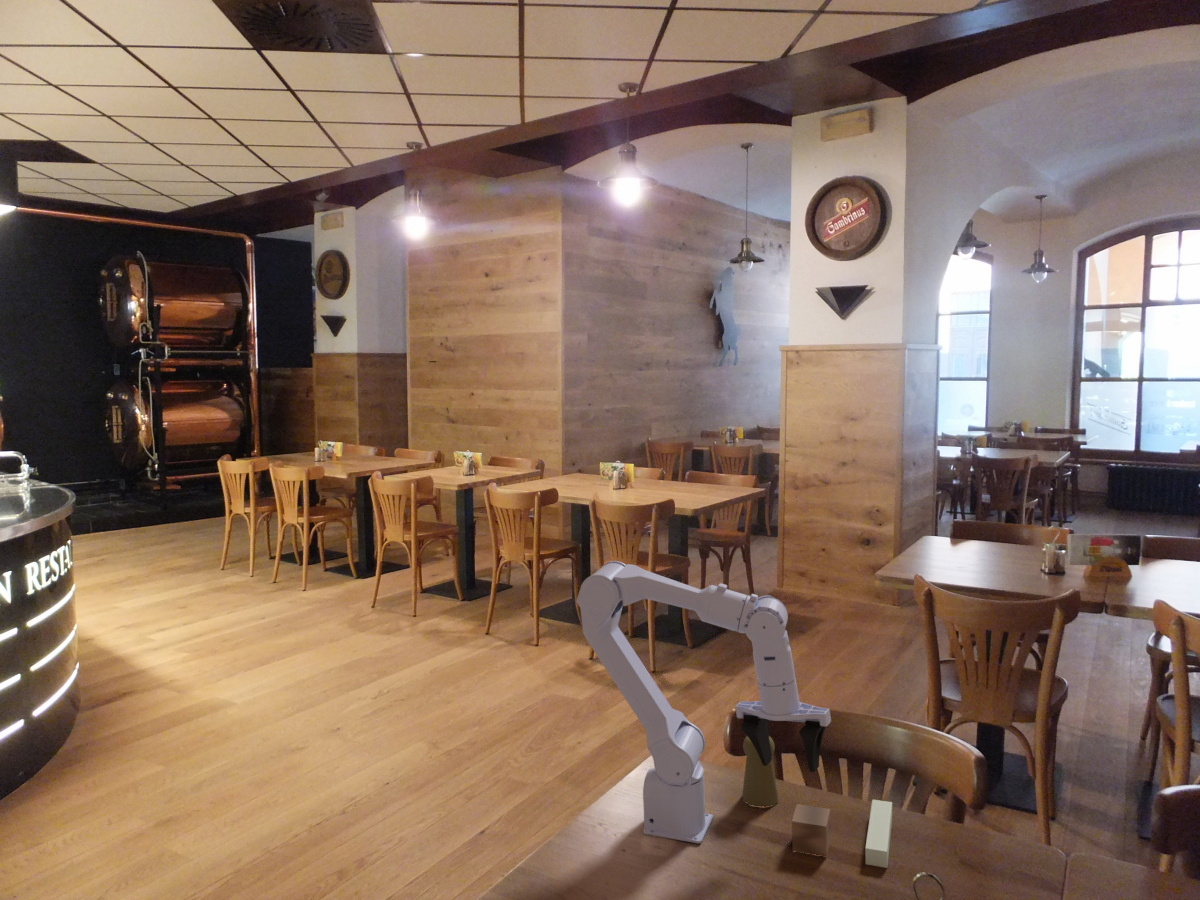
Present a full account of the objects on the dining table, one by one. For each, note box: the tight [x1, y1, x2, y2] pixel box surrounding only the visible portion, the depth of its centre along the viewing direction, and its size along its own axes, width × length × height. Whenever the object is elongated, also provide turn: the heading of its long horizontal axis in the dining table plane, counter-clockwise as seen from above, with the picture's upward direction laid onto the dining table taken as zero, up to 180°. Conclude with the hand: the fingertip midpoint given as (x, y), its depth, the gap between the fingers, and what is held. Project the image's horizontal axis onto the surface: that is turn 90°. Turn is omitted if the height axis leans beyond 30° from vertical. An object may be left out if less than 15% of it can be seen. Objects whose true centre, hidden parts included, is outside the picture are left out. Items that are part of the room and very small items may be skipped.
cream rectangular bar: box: [864, 799, 893, 869], centre depth 129 cm, size 3×14×2 cm, turn 158°
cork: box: [741, 735, 779, 807], centre depth 141 cm, size 6×6×11 cm
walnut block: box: [791, 803, 832, 857], centre depth 128 cm, size 5×5×5 cm
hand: (790, 765), depth 128 cm, fingers open, 7 cm apart
